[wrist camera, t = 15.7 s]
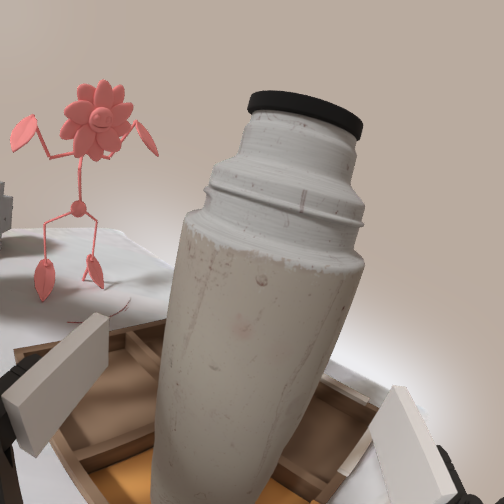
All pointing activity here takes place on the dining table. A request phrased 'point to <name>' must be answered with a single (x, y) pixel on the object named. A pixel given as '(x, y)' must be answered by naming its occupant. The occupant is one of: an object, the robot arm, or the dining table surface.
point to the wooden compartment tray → (143, 430)
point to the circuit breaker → (5, 211)
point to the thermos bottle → (256, 301)
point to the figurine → (85, 142)
